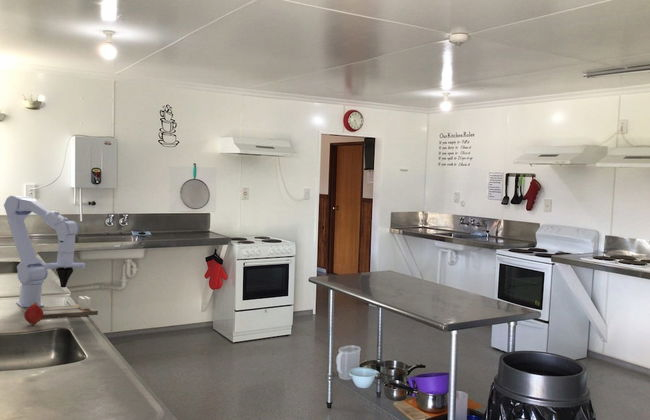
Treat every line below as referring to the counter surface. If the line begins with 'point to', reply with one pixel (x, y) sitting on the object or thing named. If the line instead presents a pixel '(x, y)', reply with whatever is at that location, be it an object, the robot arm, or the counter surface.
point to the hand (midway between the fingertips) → (63, 287)
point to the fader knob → (84, 302)
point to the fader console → (67, 311)
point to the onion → (33, 314)
